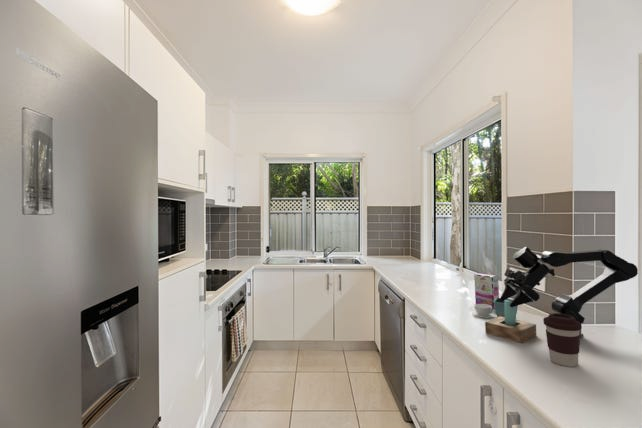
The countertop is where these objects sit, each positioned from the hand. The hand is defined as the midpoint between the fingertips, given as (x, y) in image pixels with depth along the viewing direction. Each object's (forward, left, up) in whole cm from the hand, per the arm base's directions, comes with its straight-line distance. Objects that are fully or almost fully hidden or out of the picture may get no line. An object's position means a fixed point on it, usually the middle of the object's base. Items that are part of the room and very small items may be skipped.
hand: (505, 303), depth 128 cm
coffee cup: (-23, +11, -13) cm, 28 cm away
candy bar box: (+26, -34, -13) cm, 45 cm away
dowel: (-1, -1, -12) cm, 12 cm away
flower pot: (+8, -17, -13) cm, 23 cm away
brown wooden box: (-1, -1, -13) cm, 13 cm away
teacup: (+19, -17, -13) cm, 28 cm away
